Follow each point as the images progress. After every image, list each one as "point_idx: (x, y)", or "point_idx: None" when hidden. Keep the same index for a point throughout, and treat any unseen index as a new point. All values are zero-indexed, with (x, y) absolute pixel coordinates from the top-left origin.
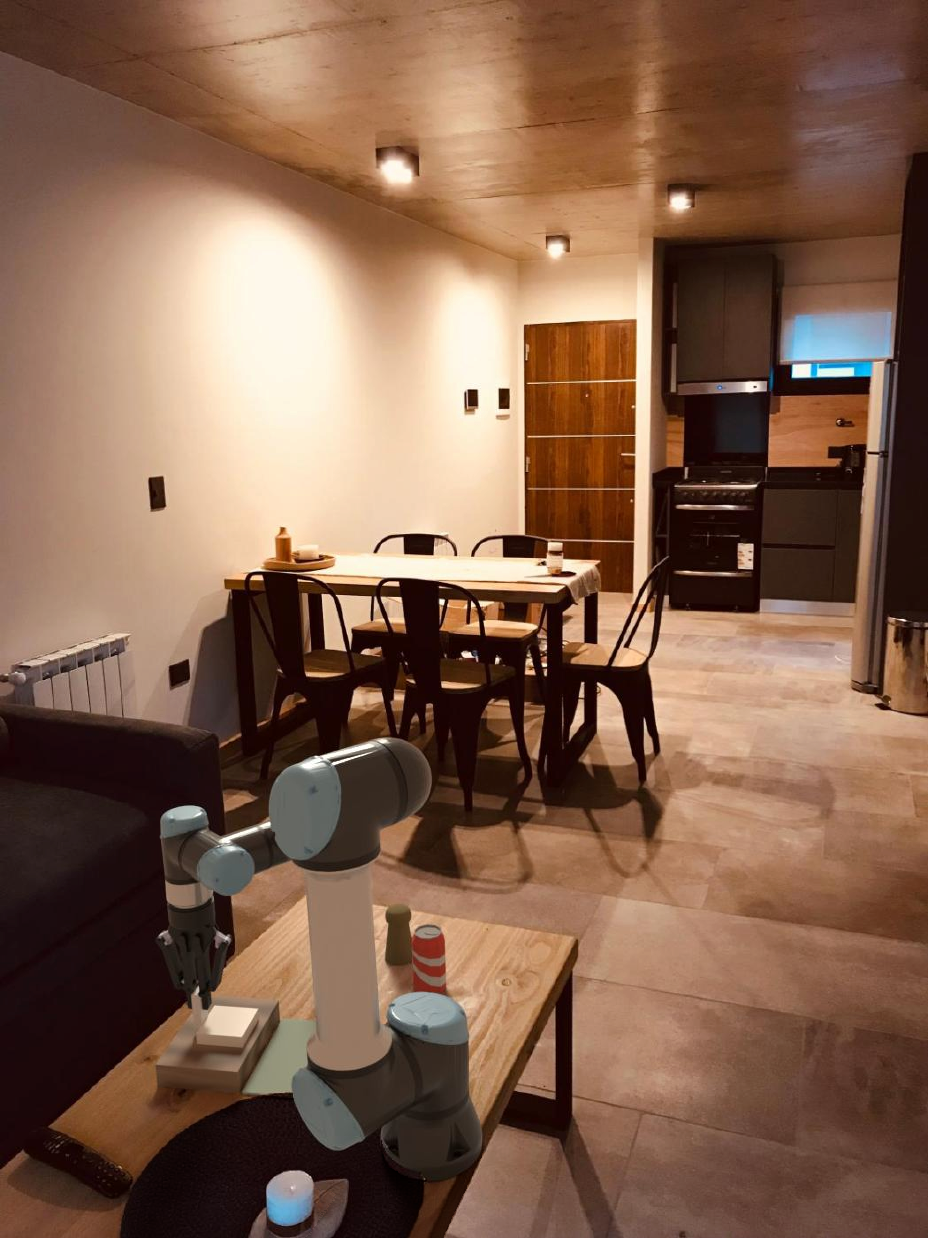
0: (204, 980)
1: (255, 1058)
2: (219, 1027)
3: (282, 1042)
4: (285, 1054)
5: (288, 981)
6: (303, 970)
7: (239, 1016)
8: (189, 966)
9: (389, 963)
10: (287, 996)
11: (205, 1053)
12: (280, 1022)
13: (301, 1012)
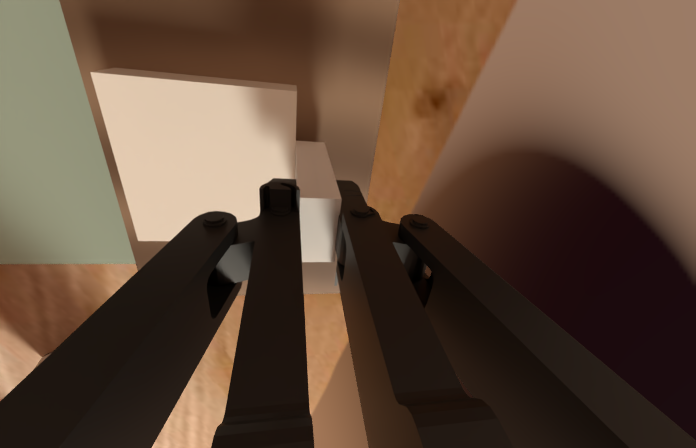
0: (256, 251)
1: None
2: (222, 133)
3: (96, 179)
4: (49, 128)
5: (216, 358)
6: (203, 383)
7: (180, 198)
8: (373, 325)
9: None
10: None
11: (243, 26)
12: None
13: None
